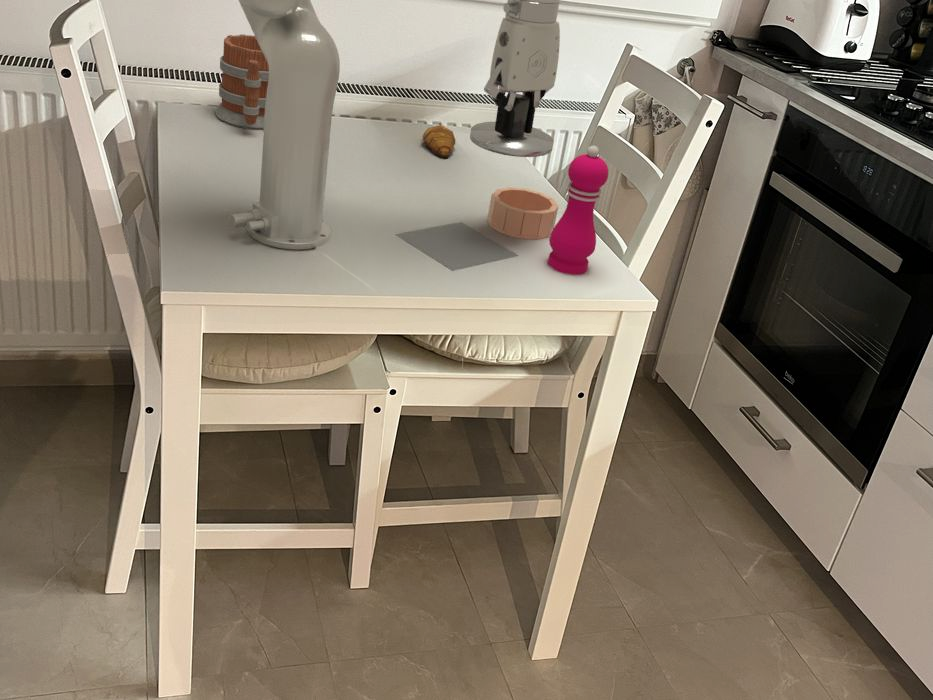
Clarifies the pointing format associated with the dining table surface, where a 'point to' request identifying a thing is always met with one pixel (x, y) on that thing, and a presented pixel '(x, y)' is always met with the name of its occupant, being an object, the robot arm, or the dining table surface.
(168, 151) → the dining table surface
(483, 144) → the lid
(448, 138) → the croissant
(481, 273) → the dining table surface
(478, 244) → the mat
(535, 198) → the bowl
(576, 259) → the pepper mill
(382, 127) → the dining table surface
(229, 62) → the mug
